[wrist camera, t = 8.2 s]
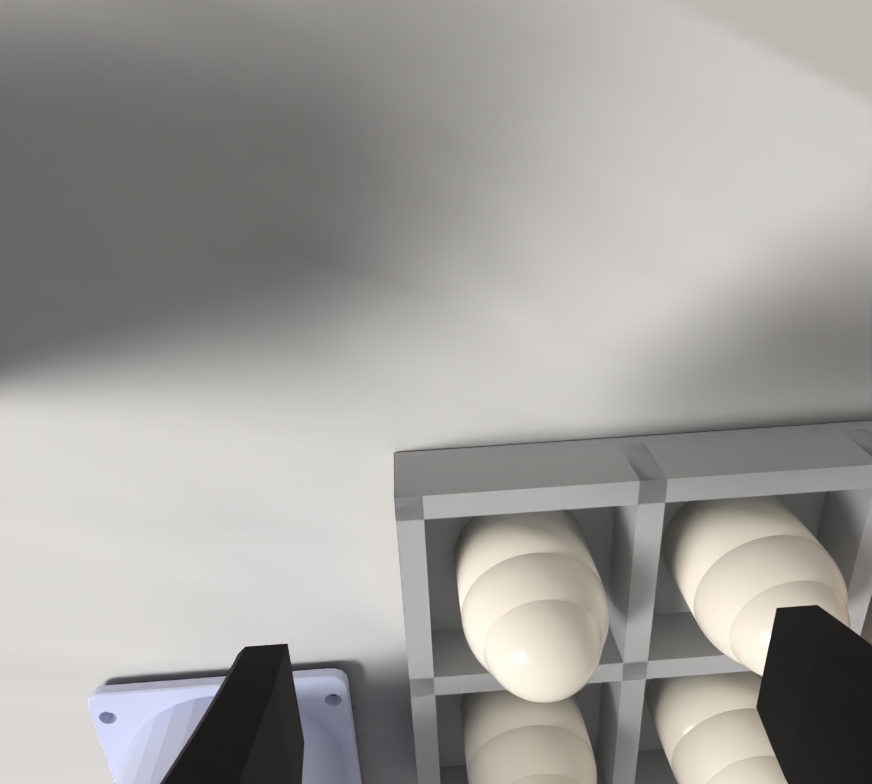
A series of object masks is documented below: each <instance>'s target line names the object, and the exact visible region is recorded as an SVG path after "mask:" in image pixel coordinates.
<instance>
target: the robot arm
mask: <svg viewBox="0 0 872 784" xmlns="http://www.w3.org/2000/svg"><path fill="white" fill-rule="evenodd" d="M331 694H336V695H337V696H330V695H331ZM88 708H89V710H90V713H91V716H92V719H93V722H94V725H95V727H96V730H97V733H98V736H99V739H100V742H101V745H102V747H103V750H104V753H105V756H106V759H107V762H108V764H109V767H110V770H111V773H112V776H113V779H114V781H115V782H114V784H362V780H361V772H360V765H359V757H358V750H357V742H356V735H355V727H354V720H353V712H352V705H351V697H350V689H349V682H348V677H347V675H346V674H345V673H344V672H343V671H342V670H339V669H336V668H327V669H313V670H300V671H292V667H291V661H290V656H289V650H288V644H277V645H264V646H250V647H245V648H244V649H243V650H242V651H241V652H240V653H239V654H238V655H237V657H236V659H235V661H234V663H233V665H232V667H231V668H230V670H229V672H228V674H227V676H222V677H209V678H196V679H183V680H170V681H157V682H144V683H130V684H117V685H105V686H100V687H97V688H96V689H94V690H93V692H92V694H91V696H90V698H89V700H88ZM756 708H757V711H758V714H759V716H760V719H761V721H762V724H763V726H764V729H765V731H766V734H767V736H768V739H769V742H770V744H771V746H772V749H773V751H774V754H775V756H776V758H777V761H778V763H779V765H780V768H781V770H782V772H783V775H784V777H785V779H786V781H787V783H788V784H872V645H871V644H870V643H869V642H867V641H866V640H865V639H863V638H862V637H861V636H859V635H858V634H857V633H855V632H854V631H853V630H851V629H850V628H849V627H847V626H846V625H845V624H843V623H842V622H841V621H839V620H838V619H836V618H835V617H834V616H832V615H831V614H829V613H828V612H827V611H825V610H824V609H822V608H821V607H820V606H818V605H808V606H795V607H781V608H776V613H775V618H774V623H773V628H772V633H771V637H770V642H769V647H768V652H767V657H766V662H765V666H764V671H763V676H762V681H761V686H760V690H759V695H758V700H757V705H756ZM109 712H111V713H109Z"/></svg>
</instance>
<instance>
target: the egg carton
mask: <svg viewBox="0 0 872 784" xmlns="http://www.w3.org/2000/svg"><path fill="white" fill-rule="evenodd" d="M766 495H778V496H779V497H780V498H781V499H782V500H783V501H784V502H785V503H786V505H787V506H788V507H789V508H790V509H791V510H792V511H793V513H794V514H795V515H796V516H797V517H798V518H799V520H800V521H801V522H802V523H803V524H804V525H805V527H806V528H807V529H808V530H809V531H810V532H811V533H812V535H813V536H814V537H815V538H816V539H817V540H818V542H819V543H820V544H821V545H822V546H823V547H824V549H825V550H826V551H827V552H828V553H829V554H830V556H831V557H832V558H833V560H834V561H835V563H836V564H837V566H838V568H839V570H840V572H841V574H842V576H843V579H844V581H845V585H846V588H847V594H848V613H849V617H850V625H851V630H853V631H854V632H855V633H857V634H858V635H859V636H861V637H862V638H863V639H865V640H866V641H867V642H869V643H870V644H871V645H872V421H858V422H843V423H829V424H814V425H799V426H784V427H769V428H754V429H739V430H725V431H710V432H695V433H680V434H665V435H650V436H635V437H620V438H606V439H591V440H576V441H561V442H546V443H531V444H516V445H502V446H487V447H472V448H457V449H442V450H427V451H412V452H398V453H394V502H395V514H396V526H397V538H398V551H399V563H400V575H401V587H402V599H403V611H404V623H405V635H406V647H407V659H408V671H409V683H410V695H411V707H412V719H413V732H414V744H415V756H416V768H417V780H418V784H469V783H468V776H467V767H466V758H465V748H464V739H463V729H462V720H461V710H460V706H461V700H462V696H463V694H464V693H474V692H487V691H499V690H507V689H505V688H504V687H503V686H502V685H501V684H500V683H499V682H498V681H497V680H496V679H495V677H494V676H493V675H492V674H491V673H489V672H488V671H487V670H486V669H485V668H484V667H483V666H482V664H481V663H480V662H479V661H478V660H477V658H476V657H475V655H474V654H473V652H472V651H471V649H470V647H469V645H468V642H467V640H466V637H465V634H464V630H463V626H462V619H461V611H460V603H459V594H458V586H457V578H456V570H455V562H454V550H455V545H456V542H457V539H458V537H459V535H460V533H461V531H462V530H463V528H464V527H465V526H466V524H467V523H468V522H469V521H470V520H471V519H472V518H473V517H474V516H481V515H496V514H510V513H524V512H538V511H552V510H565V511H567V512H568V513H569V514H570V515H571V516H572V517H573V518H574V519H575V520H576V522H577V523H578V525H579V527H580V528H581V531H582V533H583V536H584V538H585V541H586V544H587V546H588V549H589V551H590V554H591V556H592V559H593V561H594V564H595V566H596V569H597V571H598V574H599V577H600V579H601V582H602V584H603V587H604V590H605V592H606V596H607V600H608V605H609V628H608V634H607V638H606V641H605V644H604V647H603V649H602V653H601V658H600V661H599V664H598V667H597V669H596V671H595V673H594V675H593V676H592V678H591V679H590V681H589V682H588V683H587V684H586V685H585V686H584V687H583V688H582V689H581V690H580V691H578V692H577V693H576V694H577V698H578V701H579V705H580V708H581V712H582V715H583V719H584V722H585V726H586V729H587V733H588V736H589V740H590V743H591V747H592V750H593V754H594V758H595V763H596V767H597V784H678V783H677V781H676V778H675V776H674V774H673V771H672V769H671V766H670V764H669V761H668V758H667V756H666V753H665V751H664V748H663V746H662V743H661V740H660V738H659V735H658V733H657V730H656V728H655V725H654V722H653V720H652V717H651V715H650V712H649V710H648V707H647V703H646V692H647V688H648V685H649V683H650V681H651V679H653V678H666V677H679V676H692V675H704V674H717V673H730V672H743V671H752V670H750V669H749V668H747V667H746V666H745V665H742V664H740V663H738V662H736V661H734V660H732V659H731V658H729V657H728V656H726V655H725V654H723V653H722V652H721V651H720V650H718V649H717V648H716V647H715V646H714V645H713V644H712V643H711V642H710V641H709V640H708V638H707V637H706V636H705V634H704V633H703V632H702V630H701V629H700V627H699V625H698V623H697V621H696V619H695V618H694V616H693V614H692V612H691V610H690V608H689V606H688V604H687V603H686V601H685V599H684V597H683V595H682V593H681V591H680V589H679V588H678V586H677V584H676V582H675V580H674V578H673V576H672V574H671V573H670V571H669V569H668V567H667V565H666V563H665V560H664V557H663V539H664V535H665V532H666V529H667V527H668V525H669V523H670V522H671V520H672V519H673V517H674V516H675V514H676V513H677V512H678V511H679V510H680V509H681V508H682V507H683V506H684V505H685V504H686V503H687V502H689V501H695V500H709V499H723V498H737V497H752V496H766Z"/></svg>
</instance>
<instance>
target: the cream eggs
mask: <svg viewBox="0 0 872 784" xmlns="http://www.w3.org/2000/svg"><path fill="white" fill-rule="evenodd" d="M663 557H664V560H665V563H666V565H667V567H668V569H669V571H670V573H671V574H672V576H673V578H674V580H675V582H676V584H677V586H678V588H679V589H680V591H681V593H682V595H683V597H684V599H685V601H686V603H687V604H688V606H689V608H690V610H691V612H692V614H693V616H694V618H695V619H696V621H697V623H698V625H699V627H700V629H701V630H702V632H703V633H704V634H705V636H706V637H707V638H708V640H709V641H710V642H711V643H712V644H713V645H714V646H715V647H716V648H717V649H718V650H720V651H721V652H722V653H723V654H725V655H726V656H728V657H729V658H731V659H732V660H734V661H736V662H738V663H740V664H742V665H745V666H746V667H747V668H749V669H750V670H752V671H743V672H730V673H717V674H704V675H692V676H679V677H666V678H653V679H651V681H650V683H649V685H648V688H647V692H646V703H647V707H648V710H649V712H650V715H651V717H652V720H653V722H654V725H655V728H656V730H657V733H658V735H659V738H660V740H661V743H662V746H663V748H664V751H665V753H666V756H667V758H668V761H669V764H670V766H671V769H672V771H673V774H674V776H675V778H676V781H677V783H678V784H788V783H787V781H786V779H785V777H784V775H783V772H782V770H781V768H780V765H779V763H778V761H777V758H776V756H775V754H774V751H773V749H772V746H771V744H770V742H769V739H768V736H767V734H766V731H765V729H764V726H763V724H762V721H761V719H760V716H759V714H758V711H757V708H756V705H757V700H758V695H759V690H760V686H761V681H762V676H763V671H764V666H765V662H766V657H767V652H768V647H769V642H770V637H771V633H772V628H773V623H774V618H775V613H776V608H781V607H795V606H808V605H818V606H820V607H821V608H822V609H824V610H825V611H827V612H828V613H829V614H831V615H832V616H834V617H835V618H836V619H838V620H839V621H841V622H842V623H843V624H845V625H846V626H847V627H849V628H850V629H851V625H850V617H849V613H848V594H847V588H846V585H845V581H844V579H843V576H842V574H841V572H840V570H839V568H838V566H837V564H836V563H835V561H834V560H833V558H832V557H831V556H830V554H829V553H828V552H827V551H826V550H825V549H824V547H823V546H822V545H821V544H820V543H819V542H818V540H817V539H816V538H815V537H814V536H813V535H812V533H811V532H810V531H809V530H808V529H807V528H806V527H805V525H804V524H803V523H802V522H801V521H800V520H799V518H798V517H797V516H796V515H795V514H794V513H793V511H792V510H791V509H790V508H789V507H788V506H787V505H786V503H785V502H784V501H783V500H782V499H781V498H780V497H779V496H778V495H766V496H752V497H737V498H723V499H709V500H695V501H689V502H687V503H686V504H685V505H684V506H683V507H682V508H681V509H680V510H679V511H678V512H677V513H676V514H675V516H674V517H673V519H672V520H671V522H670V523H669V525H668V527H667V529H666V532H665V535H664V539H663ZM454 562H455V570H456V578H457V586H458V594H459V603H460V611H461V619H462V626H463V630H464V634H465V637H466V640H467V642H468V645H469V647H470V649H471V651H472V652H473V654H474V655H475V657H476V658H477V660H478V661H479V662H480V663H481V664H482V666H483V667H484V668H485V669H486V670H487V671H488V672H489V673H491V674H492V675H493V676H494V677H495V679H496V680H497V681H498V682H499V683H500V684H501V685H502V686H503V687H504V688H505V689H507V690H499V691H487V692H474V693H464V694H463V696H462V700H461V706H460V710H461V720H462V729H463V739H464V748H465V758H466V767H467V776H468V783H469V784H597V767H596V763H595V758H594V754H593V750H592V747H591V743H590V740H589V736H588V733H587V729H586V726H585V722H584V719H583V715H582V712H581V708H580V705H579V701H578V698H577V694H576V693H577V692H578V691H580V690H581V689H582V688H583V687H584V686H585V685H586V684H587V683H588V682H589V681H590V679H591V678H592V676H593V675H594V673H595V671H596V669H597V667H598V664H599V661H600V658H601V653H602V649H603V647H604V644H605V641H606V638H607V634H608V628H609V605H608V600H607V596H606V592H605V590H604V587H603V584H602V582H601V579H600V577H599V574H598V571H597V569H596V566H595V564H594V561H593V559H592V556H591V554H590V551H589V549H588V546H587V544H586V541H585V538H584V536H583V533H582V531H581V528H580V527H579V525H578V523H577V522H576V520H575V519H574V518H573V517H572V516H571V515H570V514H569V513H568V512H567V511H565V510H552V511H538V512H524V513H510V514H496V515H481V516H474V517H473V518H472V519H471V520H470V521H469V522H468V523H467V524H466V526H465V527H464V528H463V530H462V531H461V533H460V535H459V537H458V539H457V542H456V545H455V550H454Z"/></svg>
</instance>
